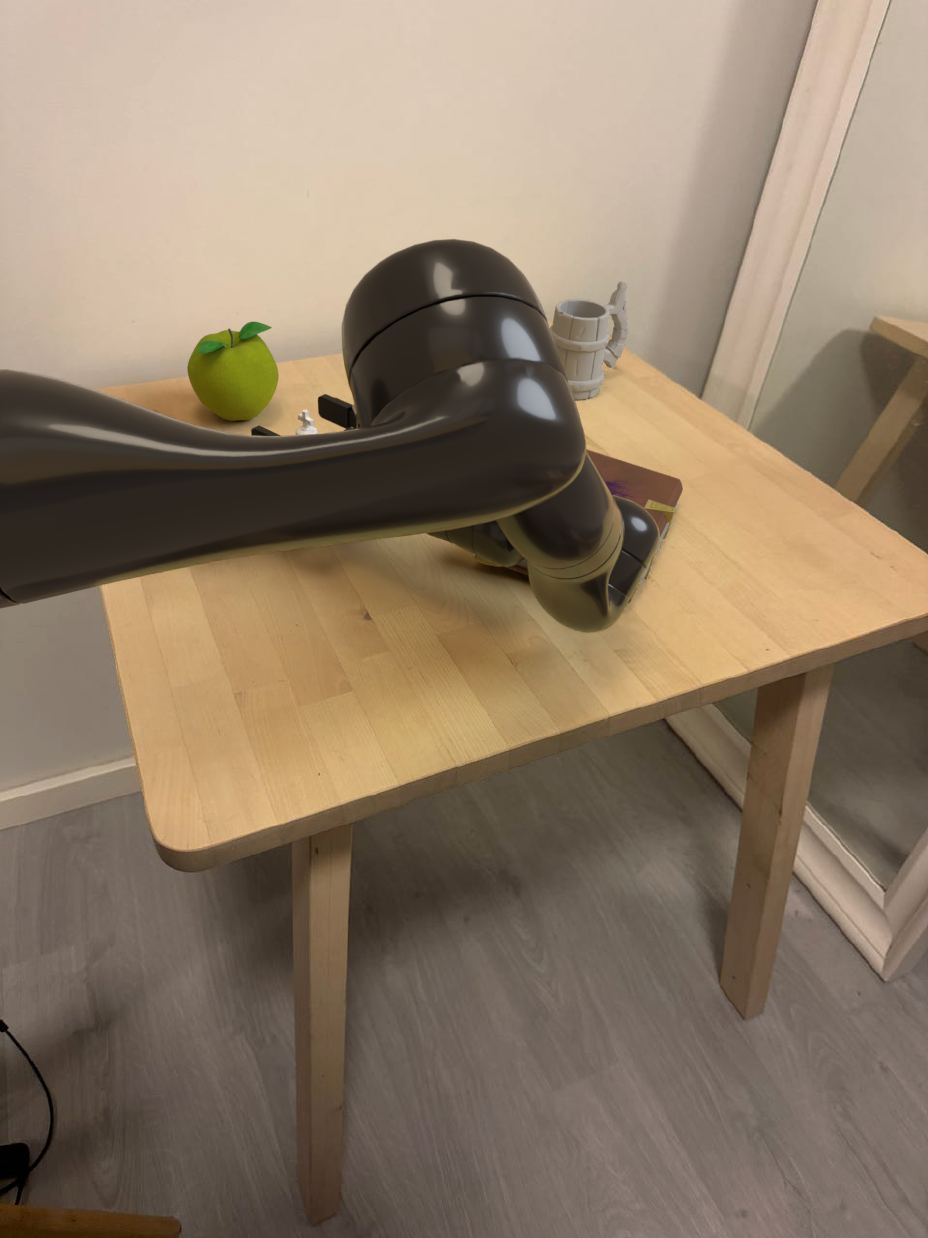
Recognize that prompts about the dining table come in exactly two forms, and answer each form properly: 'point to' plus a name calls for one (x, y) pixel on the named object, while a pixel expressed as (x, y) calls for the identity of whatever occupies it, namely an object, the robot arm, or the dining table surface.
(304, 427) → the chess piece
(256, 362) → the fruit
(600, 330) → the mug
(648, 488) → the book
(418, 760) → the dining table surface
